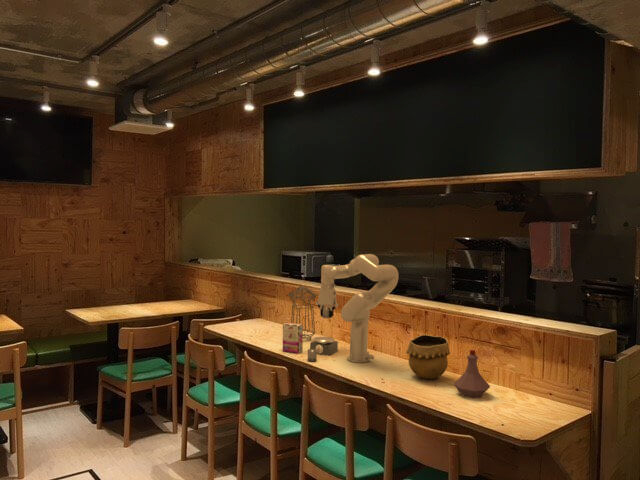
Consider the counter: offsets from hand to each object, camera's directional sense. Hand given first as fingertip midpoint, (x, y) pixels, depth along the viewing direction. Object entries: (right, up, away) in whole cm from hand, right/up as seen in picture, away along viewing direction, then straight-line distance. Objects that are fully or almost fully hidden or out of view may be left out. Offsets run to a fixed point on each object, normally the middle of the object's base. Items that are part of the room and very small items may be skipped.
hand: (326, 316), depth 311 cm
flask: (+64, -25, -73) cm, 100 cm away
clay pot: (+49, -24, -49) cm, 74 cm away
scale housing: (-2, -21, -2) cm, 21 cm away
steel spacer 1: (-8, -21, -22) cm, 31 cm away
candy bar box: (-20, -21, -3) cm, 29 cm away
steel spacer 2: (0, -1, 0) cm, 1 cm away
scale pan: (-2, -14, -2) cm, 14 cm away
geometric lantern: (-16, -19, +28) cm, 37 cm away
